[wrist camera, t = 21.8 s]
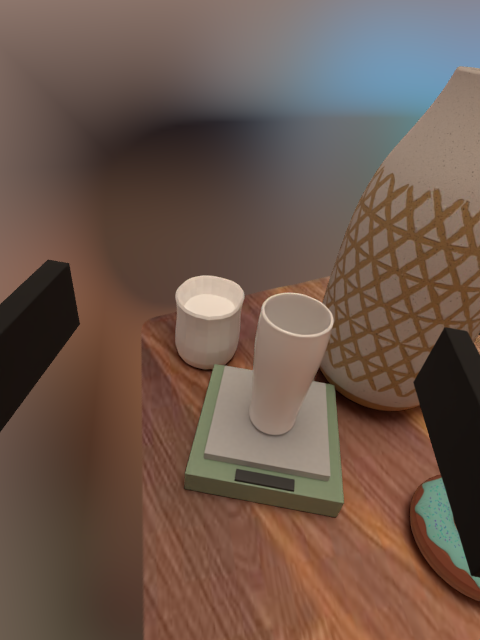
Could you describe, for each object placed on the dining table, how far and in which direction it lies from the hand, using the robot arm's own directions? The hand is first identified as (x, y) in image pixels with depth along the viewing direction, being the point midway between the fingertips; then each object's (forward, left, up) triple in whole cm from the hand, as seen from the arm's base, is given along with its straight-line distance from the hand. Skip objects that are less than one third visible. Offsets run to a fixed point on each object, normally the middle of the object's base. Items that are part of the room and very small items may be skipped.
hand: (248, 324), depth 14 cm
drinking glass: (+4, +18, -27) cm, 33 cm away
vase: (+18, +32, -31) cm, 48 cm away
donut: (+25, +10, -31) cm, 41 cm away
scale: (+4, +18, -31) cm, 36 cm away
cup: (-6, +32, -31) cm, 45 cm away
